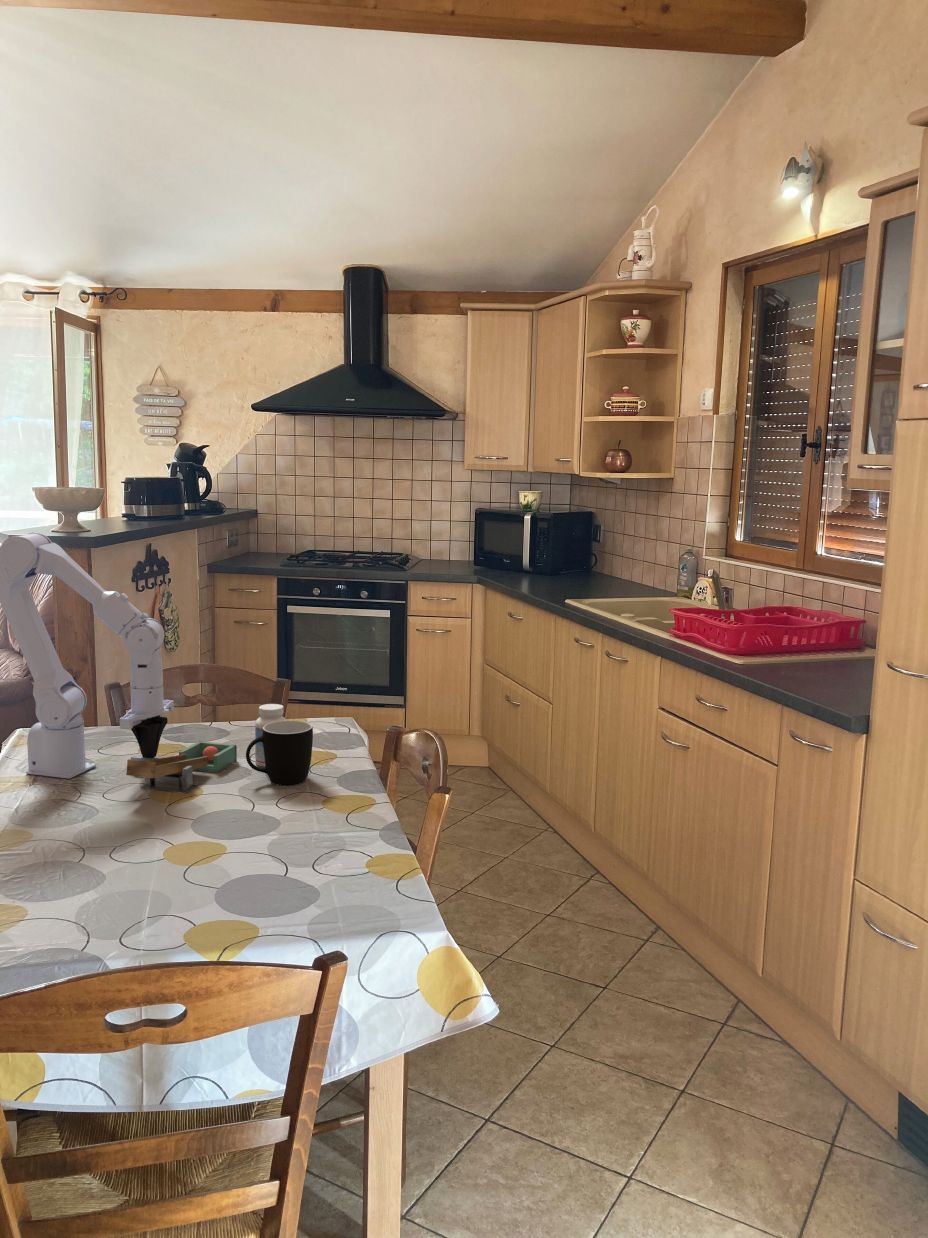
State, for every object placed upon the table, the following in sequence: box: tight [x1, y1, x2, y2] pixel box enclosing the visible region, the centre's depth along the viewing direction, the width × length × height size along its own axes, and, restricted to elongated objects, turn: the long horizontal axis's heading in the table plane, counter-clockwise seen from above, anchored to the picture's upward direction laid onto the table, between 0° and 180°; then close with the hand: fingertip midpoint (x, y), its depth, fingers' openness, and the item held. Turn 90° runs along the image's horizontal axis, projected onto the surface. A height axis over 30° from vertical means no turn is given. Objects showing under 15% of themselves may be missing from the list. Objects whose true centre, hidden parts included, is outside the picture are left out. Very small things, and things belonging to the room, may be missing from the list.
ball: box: [203, 746, 219, 762], centre depth 180 cm, size 3×3×3 cm
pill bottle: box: [254, 703, 287, 768], centre depth 181 cm, size 6×6×11 cm
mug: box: [245, 719, 314, 787], centre depth 171 cm, size 12×9×10 cm
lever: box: [126, 754, 208, 778], centre depth 167 cm, size 14×18×3 cm
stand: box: [140, 766, 199, 794], centre depth 167 cm, size 9×4×4 cm, turn 75°
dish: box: [178, 740, 238, 773], centre depth 180 cm, size 8×7×3 cm
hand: (149, 757), depth 175 cm, fingers closed
